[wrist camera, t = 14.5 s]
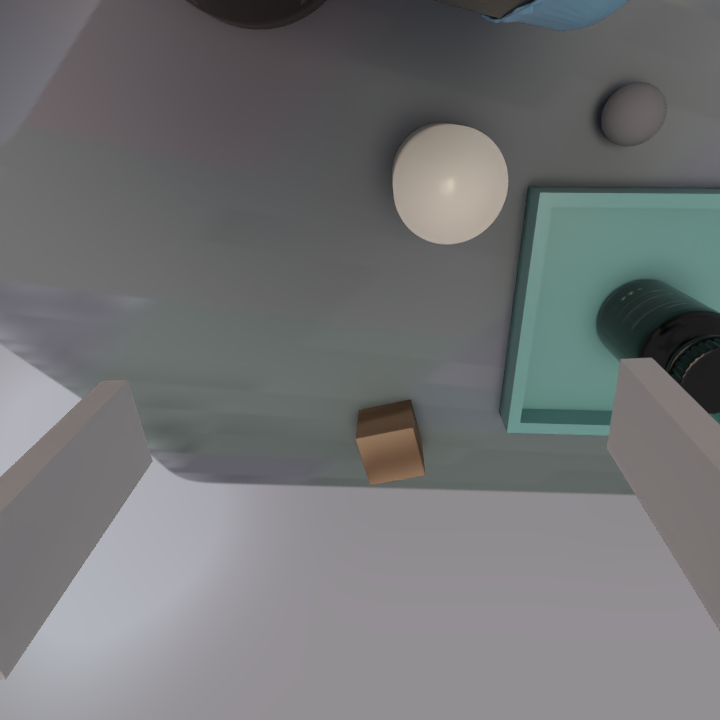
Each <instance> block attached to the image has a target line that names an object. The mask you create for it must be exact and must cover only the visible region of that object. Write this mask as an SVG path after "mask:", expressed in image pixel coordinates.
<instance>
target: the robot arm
mask: <svg viewBox="0 0 720 720" xmlns="http://www.w3.org/2000/svg"><path fill="white" fill-rule="evenodd" d="M187 1H188V2H189V3H191V4H192V5H193V6H195V7H196V8H198V9H200V10H201V11H203V12H205V13H207V14H208V15H210V16H212V17H214V18H216V19H218V20H220V21H222V22H225V23H227V24H230V25H233V26H237V27H242V28H248V29H270V28H276V27H281V26H285V25H288V24H291V23H293V22H295V21H298V20H300V19H302V18H303V17H305V16H307V15H308V14H310V13H312V12H313V11H314V10H316V9H317V8H318V7H319V6H321V5H322V4H323V3H324V2H325V1H326V0H187ZM435 1H439V2H442V3H446V4H450V5H453V6H457V7H460V8H464V9H467V10H471V11H475V12H478V13H480V15H481V16H482V17H483V18H485V19H486V20H489V21H491V22H494V23H499V22H503V23H510V22H515V21H516V22H521V23H525V24H530V25H534V26H539V27H544V28H548V29H553V30H558V31H566V30H572V29H580V28H583V27H585V26H589V25H592V24H595V23H597V22H598V21H600V20H602V19H604V18H605V17H607V16H609V15H610V14H612V13H613V12H614V11H616V10H617V9H619V8H620V7H621V6H623V5H624V4H625V3H626V2H628V1H629V0H435ZM607 449H608V451H609V453H610V454H611V456H612V457H613V459H614V461H615V462H616V464H617V466H618V467H619V469H620V470H621V472H622V474H623V475H624V477H625V478H626V480H627V482H628V483H629V485H630V487H631V488H632V490H633V491H634V493H635V495H636V496H637V498H638V499H639V501H640V503H641V504H642V506H643V508H644V509H645V511H646V512H647V514H648V516H649V517H650V519H651V520H652V522H653V524H654V525H655V527H656V529H657V530H658V532H659V533H660V535H661V536H662V538H663V540H664V542H665V543H666V545H667V546H668V548H669V550H670V551H671V553H672V555H673V556H674V558H675V559H676V561H677V563H678V564H679V566H680V567H681V569H682V570H683V572H684V574H685V576H686V577H687V579H688V580H689V582H690V584H691V585H692V587H693V589H694V590H695V592H696V593H697V595H698V597H699V598H700V600H701V601H702V603H703V605H704V606H705V608H706V610H707V611H708V613H709V614H710V616H711V618H712V619H713V621H714V622H715V624H716V626H717V627H718V629H719V631H720V424H719V423H717V422H716V421H715V420H714V419H713V418H712V417H711V416H710V415H709V414H708V413H707V412H706V411H705V410H704V409H703V408H702V407H701V406H700V405H699V404H698V403H697V402H696V401H695V400H694V399H693V398H692V397H691V396H690V395H689V394H688V393H687V392H686V391H685V390H684V389H683V388H682V387H681V386H680V385H679V384H678V383H677V382H676V381H675V380H674V379H673V378H672V377H671V376H670V375H669V374H668V373H667V372H666V371H665V370H664V369H663V368H662V367H661V366H660V365H659V364H658V363H657V362H656V361H655V360H654V359H653V358H631V359H620V365H619V372H618V378H617V384H616V391H615V397H614V404H613V410H612V417H611V423H610V430H609V436H608V443H607ZM151 462H152V458H151V454H150V451H149V448H148V445H147V441H146V438H145V435H144V431H143V428H142V425H141V422H140V418H139V415H138V412H137V408H136V405H135V402H134V399H133V395H132V392H131V389H130V386H129V382H128V380H113V381H101V382H100V383H99V384H98V385H97V386H96V387H95V388H93V389H92V390H91V391H90V392H89V393H88V394H87V395H86V396H85V397H84V398H83V399H82V400H81V401H80V402H79V403H78V404H77V405H76V406H75V407H74V408H72V409H71V410H70V411H69V412H68V413H67V414H66V415H65V416H64V417H63V418H62V419H61V420H60V421H59V422H58V423H57V424H56V425H55V426H54V427H53V428H51V429H50V430H49V431H48V432H47V433H46V434H45V435H44V436H43V437H42V438H41V439H40V440H39V441H38V442H37V443H36V444H35V445H34V446H33V447H32V448H31V449H29V450H28V451H27V452H26V453H25V454H24V455H23V456H22V457H21V458H20V459H19V460H18V461H17V462H16V463H15V464H14V465H13V466H12V467H11V468H10V469H8V470H7V471H6V472H5V473H4V474H3V475H2V476H1V477H0V679H6V678H7V677H8V675H9V674H10V672H11V671H12V669H13V668H14V666H15V665H16V663H17V662H18V660H19V659H20V657H21V656H22V654H23V653H24V651H25V650H26V648H27V647H28V646H29V644H30V643H31V641H32V640H33V638H34V636H35V635H36V634H37V632H38V631H39V629H40V628H41V626H42V625H43V623H44V622H45V620H46V619H47V617H48V616H49V614H50V613H51V611H52V610H53V608H54V607H55V605H56V604H57V602H58V601H59V599H60V598H61V596H62V595H63V593H64V592H65V591H66V589H67V588H68V586H69V584H70V583H71V581H72V580H73V579H74V577H75V576H76V574H77V573H78V571H79V570H80V568H81V567H82V565H83V564H84V562H85V560H86V559H87V558H88V556H89V555H90V553H91V552H92V550H93V549H94V547H95V546H96V544H97V543H98V541H99V540H100V538H101V537H102V535H103V534H104V532H105V531H106V530H107V528H108V527H109V525H110V523H111V522H112V521H113V519H114V518H115V516H116V515H117V513H118V512H119V510H120V508H121V507H122V506H123V504H124V503H125V501H126V500H127V498H128V497H129V495H130V494H131V492H132V491H133V489H134V488H135V486H136V485H137V483H138V482H139V480H140V479H141V477H142V476H143V474H144V473H145V471H146V470H147V469H148V467H149V465H150V464H151Z"/></svg>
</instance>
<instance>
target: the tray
mask: <svg viewBox="0 0 720 720" xmlns="http://www.w3.org/2000/svg"><path fill="white" fill-rule="evenodd" d="M640 280H656V281H660V282H663V283H666V284H668V285H670V286H672V287H674V288H676V289H678V290H680V291H681V292H683V293H685V294H687V295H689V296H690V297H692V298H694V299H696V300H698V301H699V302H701V303H703V304H705V305H707V306H708V307H710V308H712V309H714V310H716V311H717V312H719V313H720V188H629V187H528V193H527V200H526V208H525V216H524V224H523V232H522V239H521V247H520V255H519V263H518V270H517V278H516V286H515V294H514V302H513V309H512V317H511V325H510V333H509V340H508V348H507V356H506V364H505V372H504V379H503V387H502V395H501V403H500V410H499V413H500V415H501V418H502V421H503V423H504V426H505V429H506V431H507V433H541V434H577V435H609V430H610V423H611V417H612V410H613V404H614V397H615V391H616V384H617V378H618V372H619V365H620V362H619V361H618V360H617V359H616V358H615V357H614V356H613V355H612V354H611V353H610V352H609V351H608V350H607V348H606V347H605V346H604V345H603V343H602V342H601V340H600V337H599V334H598V328H597V322H598V317H599V313H600V311H601V308H602V307H603V305H604V303H605V302H606V300H607V299H608V298H609V297H610V296H611V295H612V294H613V293H614V292H615V291H617V290H618V289H620V288H621V287H623V286H625V285H627V284H629V283H632V282H635V281H640ZM709 415H710V416H711V417H712V418H713V419H714V420H715V421H716V422H717V423H719V424H720V413H717V414H709Z"/></svg>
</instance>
